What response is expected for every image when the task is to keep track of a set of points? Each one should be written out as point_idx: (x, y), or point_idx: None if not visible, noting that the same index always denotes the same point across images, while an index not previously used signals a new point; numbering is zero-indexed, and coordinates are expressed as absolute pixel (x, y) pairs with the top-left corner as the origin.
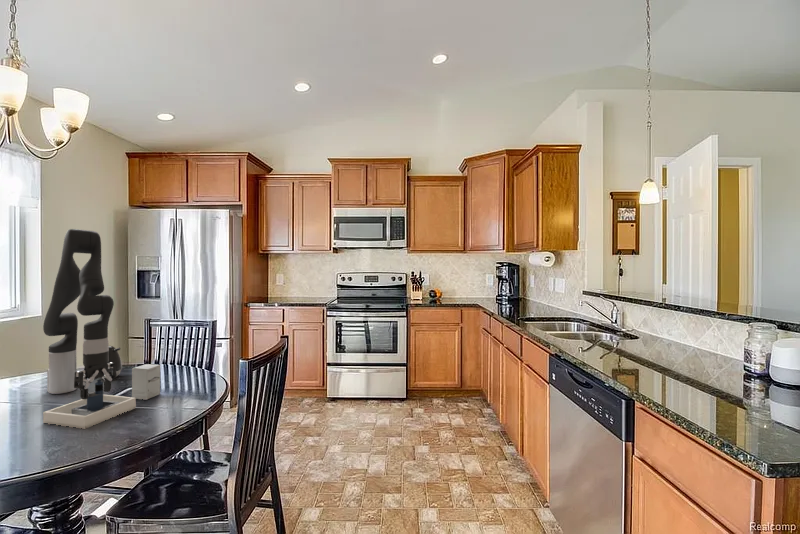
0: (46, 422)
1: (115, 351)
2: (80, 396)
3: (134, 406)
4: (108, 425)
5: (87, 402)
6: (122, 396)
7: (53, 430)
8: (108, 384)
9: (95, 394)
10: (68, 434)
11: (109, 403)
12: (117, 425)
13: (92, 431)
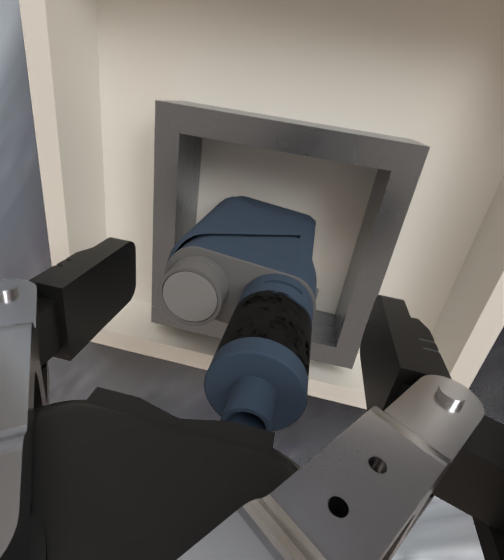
0: None
1: None
2: (75, 255)
3: None
4: (165, 372)
5: (181, 244)
6: (501, 324)
7: (33, 139)
8: (368, 407)
9: (235, 296)
10: (32, 267)
11: (351, 294)
12: (174, 405)
13: (93, 347)
